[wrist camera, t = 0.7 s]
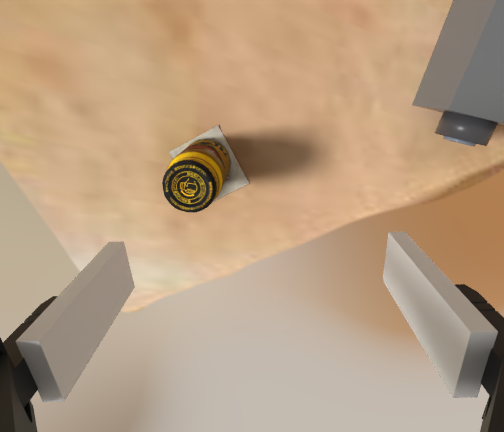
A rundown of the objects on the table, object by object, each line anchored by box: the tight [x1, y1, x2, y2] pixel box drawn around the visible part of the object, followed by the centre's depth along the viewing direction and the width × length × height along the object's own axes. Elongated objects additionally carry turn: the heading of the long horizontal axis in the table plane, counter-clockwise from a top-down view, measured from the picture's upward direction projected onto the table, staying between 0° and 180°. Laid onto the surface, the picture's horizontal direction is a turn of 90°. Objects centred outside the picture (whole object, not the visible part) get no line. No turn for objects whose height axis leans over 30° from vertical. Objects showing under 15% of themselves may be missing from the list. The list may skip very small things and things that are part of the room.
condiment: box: [162, 126, 249, 212], centre depth 36 cm, size 7×8×12 cm
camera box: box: [413, 0, 504, 146], centre depth 32 cm, size 17×9×9 cm, turn 168°
